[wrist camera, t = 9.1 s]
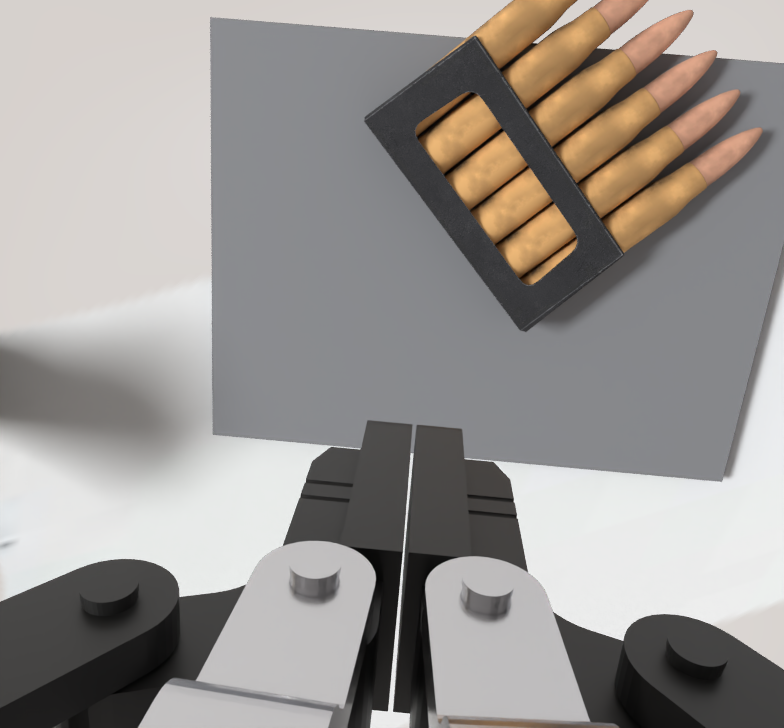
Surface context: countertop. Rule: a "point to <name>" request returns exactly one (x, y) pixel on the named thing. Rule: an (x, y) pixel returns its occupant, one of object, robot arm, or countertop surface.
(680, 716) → the robot arm
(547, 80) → the ammunition clip
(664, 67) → the mat
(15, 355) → the countertop surface
